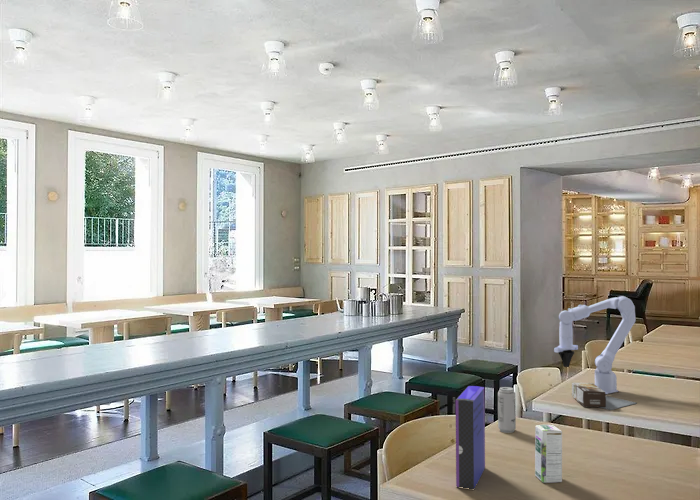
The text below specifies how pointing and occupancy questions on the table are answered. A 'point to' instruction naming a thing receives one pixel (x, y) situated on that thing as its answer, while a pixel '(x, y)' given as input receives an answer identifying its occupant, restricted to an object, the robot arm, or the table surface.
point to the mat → (616, 403)
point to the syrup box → (548, 453)
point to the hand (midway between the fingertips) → (566, 366)
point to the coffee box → (588, 395)
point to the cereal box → (470, 436)
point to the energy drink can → (506, 410)
